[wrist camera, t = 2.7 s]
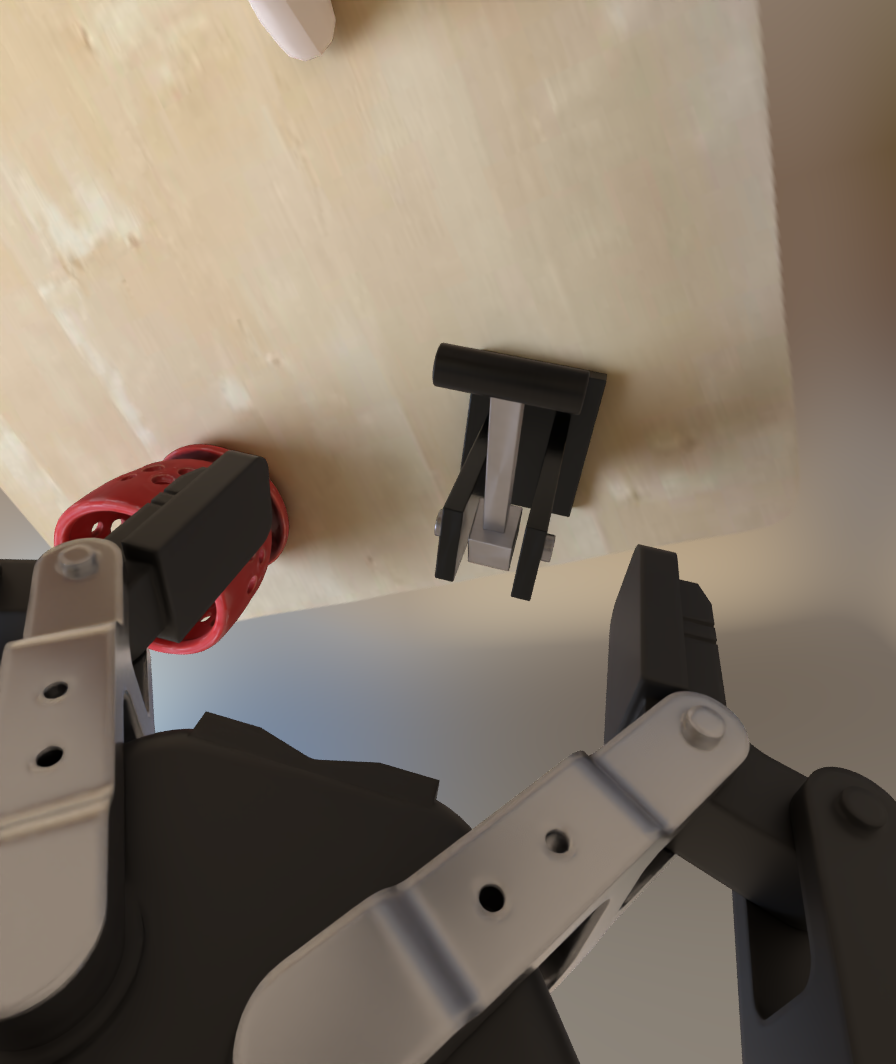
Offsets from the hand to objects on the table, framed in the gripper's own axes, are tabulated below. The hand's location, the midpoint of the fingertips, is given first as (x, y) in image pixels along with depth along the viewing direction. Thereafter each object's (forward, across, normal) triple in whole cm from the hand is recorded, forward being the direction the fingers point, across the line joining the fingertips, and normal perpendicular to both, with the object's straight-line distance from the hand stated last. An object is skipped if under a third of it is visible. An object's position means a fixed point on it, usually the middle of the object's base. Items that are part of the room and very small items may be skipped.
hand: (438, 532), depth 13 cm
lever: (+13, 0, +5) cm, 14 cm away
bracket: (+27, 0, +11) cm, 29 cm away
